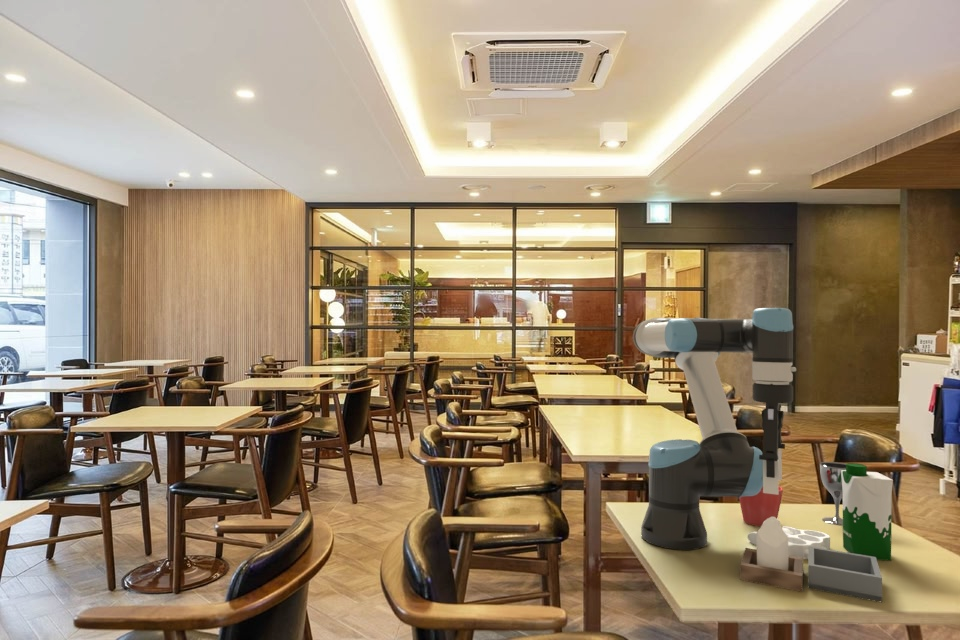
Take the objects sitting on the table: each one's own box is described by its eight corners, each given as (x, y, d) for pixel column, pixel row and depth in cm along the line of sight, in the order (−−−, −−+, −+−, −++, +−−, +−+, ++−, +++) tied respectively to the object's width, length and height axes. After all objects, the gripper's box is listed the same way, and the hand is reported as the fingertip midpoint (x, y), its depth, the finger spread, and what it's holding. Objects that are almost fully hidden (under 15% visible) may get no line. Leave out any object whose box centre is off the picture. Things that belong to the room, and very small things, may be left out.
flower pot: (747, 513, 164) (747, 478, 164) (789, 523, 156) (789, 486, 156) (729, 521, 157) (729, 484, 157) (772, 532, 149) (772, 493, 149)
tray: (808, 588, 116) (808, 565, 116) (808, 567, 126) (808, 546, 126) (882, 602, 110) (882, 578, 110) (876, 579, 120) (875, 557, 121)
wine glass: (861, 526, 154) (861, 468, 154) (830, 526, 154) (830, 468, 154) (843, 517, 162) (843, 462, 162) (814, 516, 162) (814, 461, 162)
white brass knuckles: (789, 535, 148) (847, 555, 135) (737, 545, 140) (794, 567, 127) (789, 521, 148) (847, 540, 135) (737, 531, 140) (794, 551, 127)
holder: (740, 579, 120) (740, 564, 120) (745, 561, 129) (745, 547, 129) (802, 591, 114) (802, 576, 114) (803, 572, 124) (803, 557, 124)
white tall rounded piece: (759, 520, 120) (753, 512, 125) (759, 579, 120) (753, 569, 125) (791, 522, 119) (784, 514, 124) (792, 583, 118) (784, 572, 124)
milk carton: (837, 545, 140) (837, 460, 140) (880, 548, 138) (879, 462, 138) (852, 559, 131) (852, 468, 132) (898, 562, 129) (898, 471, 130)
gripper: (791, 387, 110) (791, 503, 109) (794, 380, 131) (795, 476, 131) (746, 385, 113) (747, 497, 113) (757, 378, 135) (757, 472, 135)
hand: (772, 486), depth 122 cm, fingers open, 13 cm apart
